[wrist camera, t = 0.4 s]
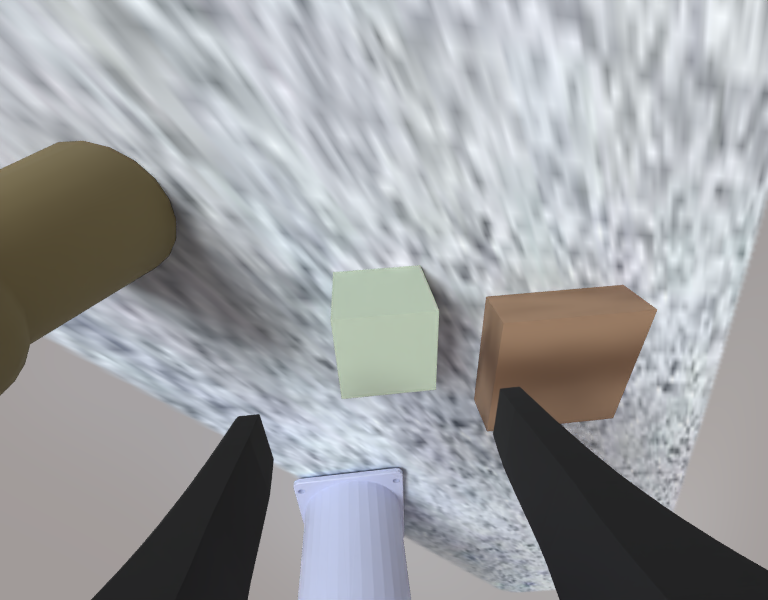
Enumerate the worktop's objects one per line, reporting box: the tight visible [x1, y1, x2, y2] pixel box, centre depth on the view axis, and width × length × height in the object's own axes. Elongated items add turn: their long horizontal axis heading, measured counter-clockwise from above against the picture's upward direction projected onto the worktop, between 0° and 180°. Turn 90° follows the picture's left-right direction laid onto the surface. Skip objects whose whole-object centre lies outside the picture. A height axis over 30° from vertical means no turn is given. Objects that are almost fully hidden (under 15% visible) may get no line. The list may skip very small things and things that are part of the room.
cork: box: [0, 141, 176, 395], centre depth 11 cm, size 6×6×11 cm
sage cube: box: [331, 265, 439, 399], centre depth 18 cm, size 4×4×4 cm
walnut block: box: [474, 285, 657, 431], centre depth 22 cm, size 8×8×3 cm
